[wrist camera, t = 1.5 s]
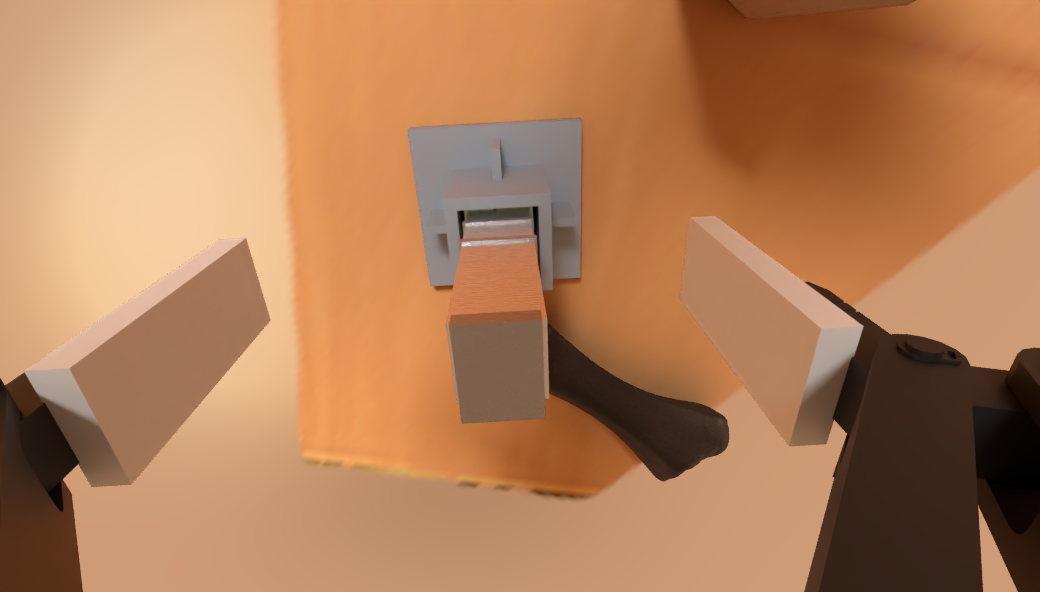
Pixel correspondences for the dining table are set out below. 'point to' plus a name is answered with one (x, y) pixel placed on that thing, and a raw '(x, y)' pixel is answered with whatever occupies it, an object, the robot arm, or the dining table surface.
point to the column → (498, 319)
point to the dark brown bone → (637, 412)
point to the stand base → (500, 187)
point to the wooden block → (806, 6)
